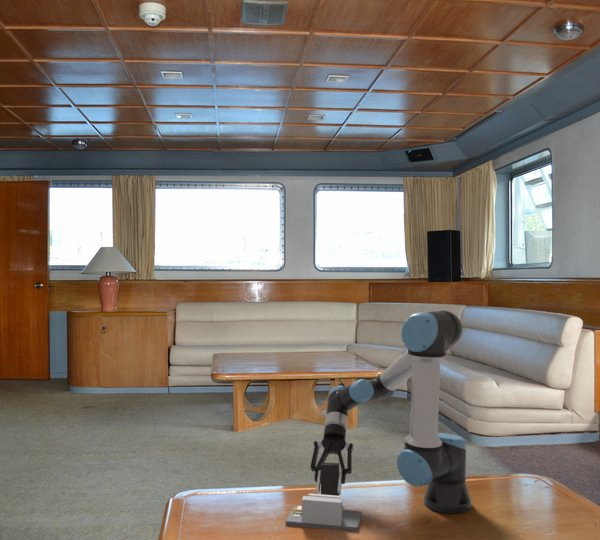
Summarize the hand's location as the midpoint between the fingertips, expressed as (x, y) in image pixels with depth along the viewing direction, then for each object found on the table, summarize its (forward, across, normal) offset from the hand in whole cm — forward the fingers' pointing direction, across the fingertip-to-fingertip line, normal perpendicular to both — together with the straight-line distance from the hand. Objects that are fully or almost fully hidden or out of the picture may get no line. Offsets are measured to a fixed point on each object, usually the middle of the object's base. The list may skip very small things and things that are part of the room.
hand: (328, 491), depth 196 cm
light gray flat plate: (+8, +3, +2) cm, 9 cm away
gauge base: (+10, 0, +1) cm, 10 cm away
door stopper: (0, 0, -6) cm, 6 cm away
